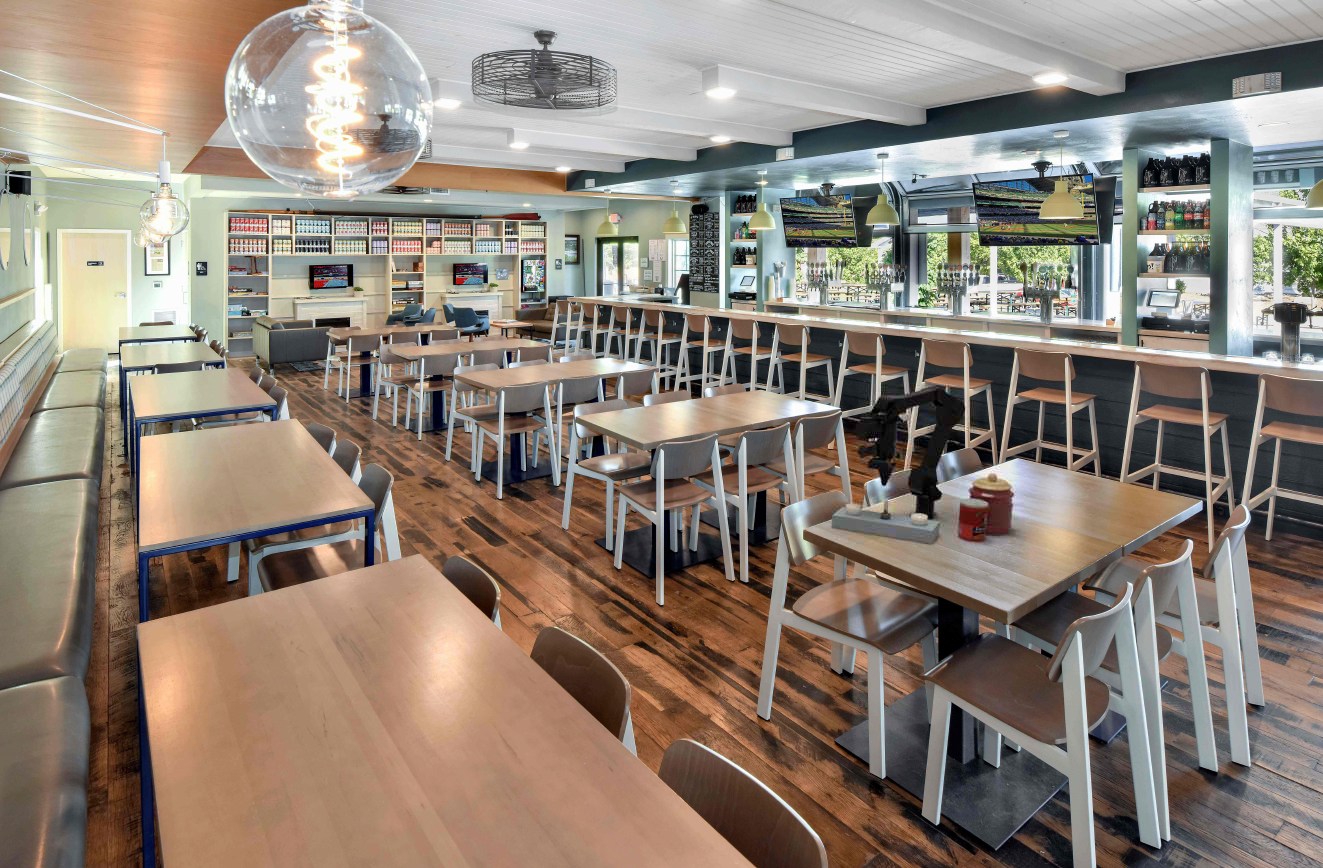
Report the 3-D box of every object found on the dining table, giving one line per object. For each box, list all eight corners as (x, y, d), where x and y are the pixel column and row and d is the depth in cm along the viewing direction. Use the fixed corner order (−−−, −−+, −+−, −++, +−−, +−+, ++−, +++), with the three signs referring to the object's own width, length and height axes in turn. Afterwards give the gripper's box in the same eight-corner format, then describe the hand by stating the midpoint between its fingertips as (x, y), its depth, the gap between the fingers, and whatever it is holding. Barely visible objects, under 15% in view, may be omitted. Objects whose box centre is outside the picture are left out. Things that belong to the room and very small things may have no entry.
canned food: (976, 543, 229) (979, 507, 227) (952, 536, 235) (954, 501, 233) (991, 538, 233) (994, 503, 231) (966, 531, 240) (969, 496, 238)
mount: (842, 518, 252) (842, 506, 251) (938, 534, 237) (939, 521, 236) (831, 527, 244) (832, 515, 243) (931, 543, 229) (932, 530, 228)
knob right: (912, 528, 238) (913, 512, 237) (927, 531, 236) (929, 514, 235) (908, 533, 234) (909, 516, 233) (924, 535, 232) (925, 518, 231)
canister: (1015, 537, 235) (1020, 480, 231) (969, 534, 237) (974, 477, 234) (1005, 523, 247) (1010, 469, 244) (962, 521, 250) (966, 467, 246)
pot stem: (881, 516, 242) (882, 499, 241) (891, 517, 240) (892, 500, 239) (879, 518, 239) (880, 501, 238) (888, 520, 238) (890, 502, 236)
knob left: (847, 518, 248) (848, 502, 247) (862, 520, 246) (863, 504, 245) (843, 522, 244) (844, 506, 243) (857, 524, 242) (858, 508, 241)
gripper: (869, 429, 255) (867, 475, 258) (852, 439, 239) (849, 489, 242) (904, 432, 249) (901, 480, 253) (888, 443, 234) (885, 494, 237)
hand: (883, 485), depth 246 cm, fingers closed
